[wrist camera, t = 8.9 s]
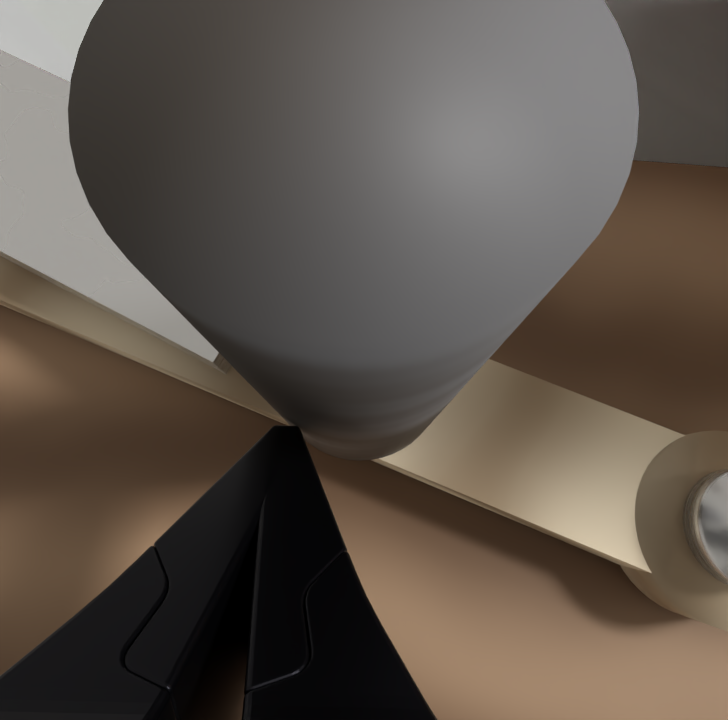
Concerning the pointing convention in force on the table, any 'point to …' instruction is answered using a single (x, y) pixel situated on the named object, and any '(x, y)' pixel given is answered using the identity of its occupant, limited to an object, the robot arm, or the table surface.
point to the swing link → (384, 242)
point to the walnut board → (407, 484)
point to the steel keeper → (130, 288)
